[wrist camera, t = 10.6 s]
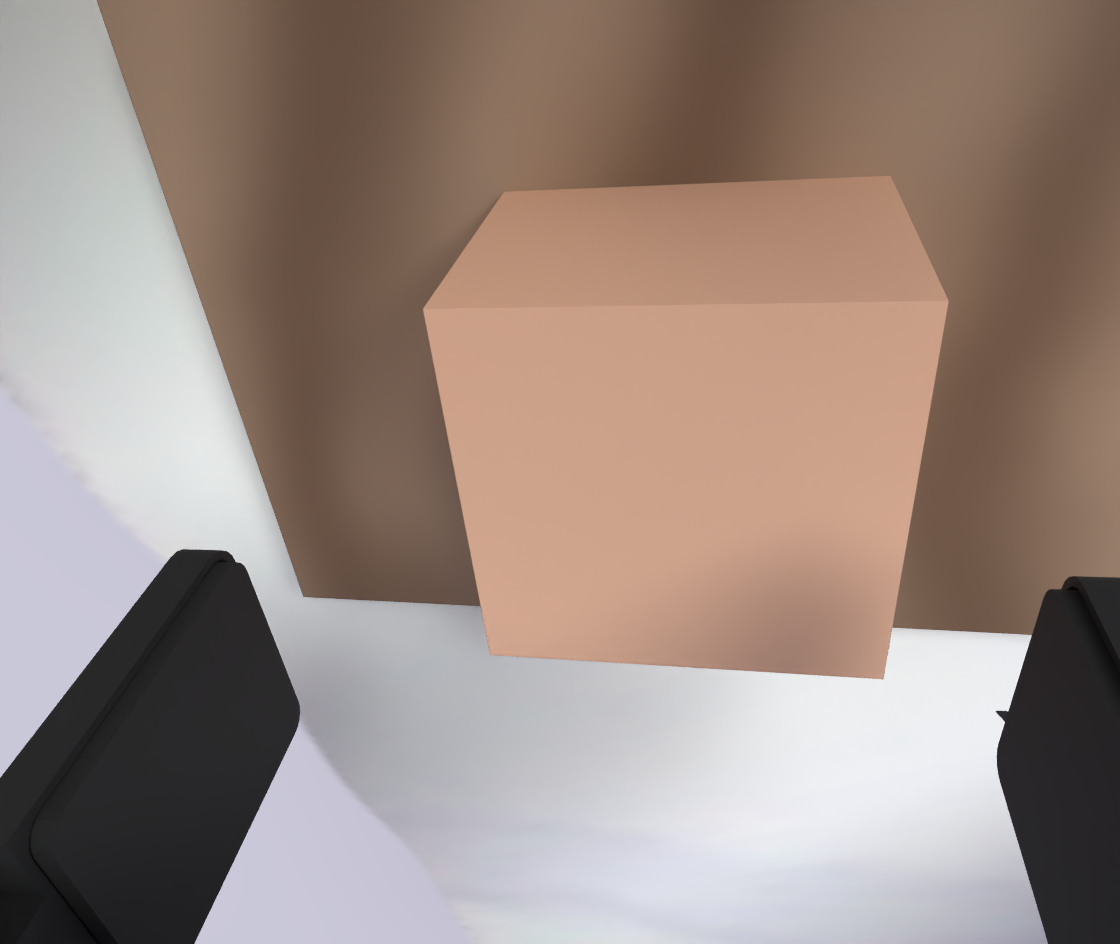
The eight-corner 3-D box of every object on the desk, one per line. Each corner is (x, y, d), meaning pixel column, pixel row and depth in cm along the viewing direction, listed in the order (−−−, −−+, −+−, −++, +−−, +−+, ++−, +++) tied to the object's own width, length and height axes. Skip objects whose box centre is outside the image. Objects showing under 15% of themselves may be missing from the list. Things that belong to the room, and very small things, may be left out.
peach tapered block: (890, 176, 14) (948, 300, 10) (851, 495, 18) (883, 679, 14) (503, 191, 16) (423, 309, 12) (541, 488, 19) (490, 654, 15)
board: (1405, -141, 12) (1746, -137, 8) (1128, 593, 20) (1229, 787, 16) (141, -21, 16) (-70, 24, 12) (325, 559, 24) (238, 708, 20)
